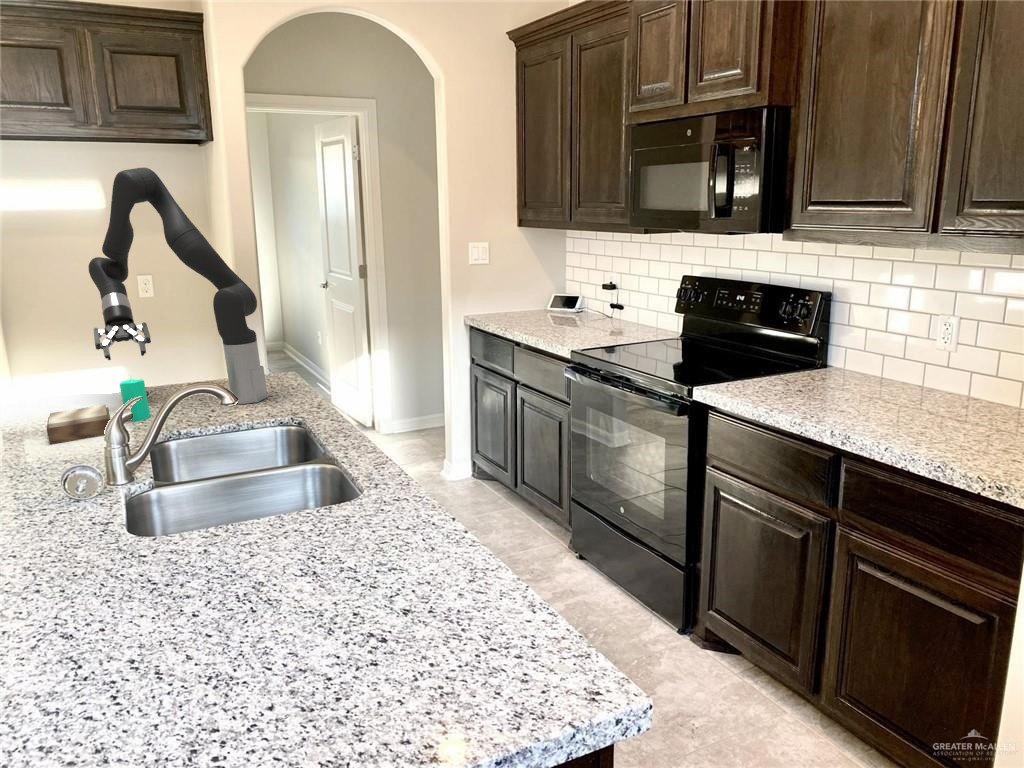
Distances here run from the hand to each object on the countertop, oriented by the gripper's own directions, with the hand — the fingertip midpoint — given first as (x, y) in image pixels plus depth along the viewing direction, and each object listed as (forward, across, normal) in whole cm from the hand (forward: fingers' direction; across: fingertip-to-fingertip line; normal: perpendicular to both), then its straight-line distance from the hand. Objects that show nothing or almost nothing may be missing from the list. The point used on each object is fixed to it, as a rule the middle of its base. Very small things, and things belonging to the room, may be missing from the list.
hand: (126, 356), depth 213 cm
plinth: (+23, -14, -1) cm, 27 cm away
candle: (+19, 0, +3) cm, 19 cm away
